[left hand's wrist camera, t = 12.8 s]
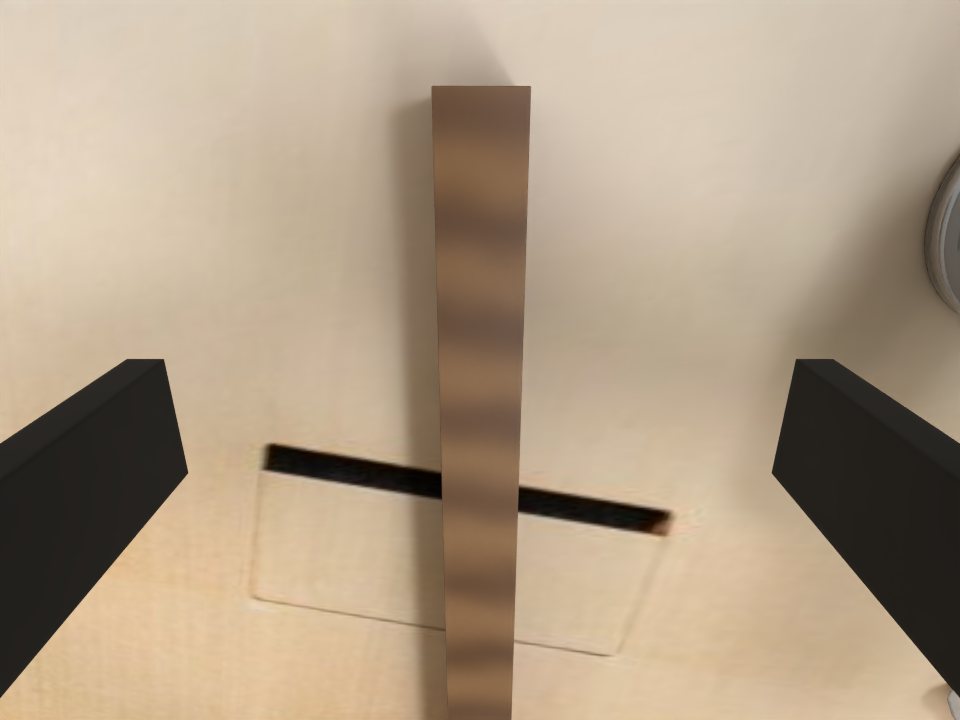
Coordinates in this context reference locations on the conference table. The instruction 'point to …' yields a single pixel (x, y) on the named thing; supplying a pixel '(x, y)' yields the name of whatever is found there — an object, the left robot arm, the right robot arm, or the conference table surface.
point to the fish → (954, 704)
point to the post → (480, 379)
